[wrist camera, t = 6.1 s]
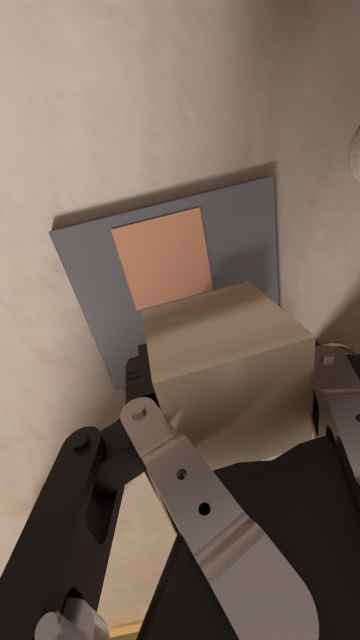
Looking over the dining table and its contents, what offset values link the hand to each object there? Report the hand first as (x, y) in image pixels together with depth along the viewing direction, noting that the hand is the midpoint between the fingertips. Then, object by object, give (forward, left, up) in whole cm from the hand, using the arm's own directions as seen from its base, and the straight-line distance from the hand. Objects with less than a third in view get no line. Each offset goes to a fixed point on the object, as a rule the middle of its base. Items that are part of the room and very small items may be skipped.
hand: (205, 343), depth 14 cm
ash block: (0, 0, 0) cm, 0 cm away
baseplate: (+1, -4, -16) cm, 16 cm away
